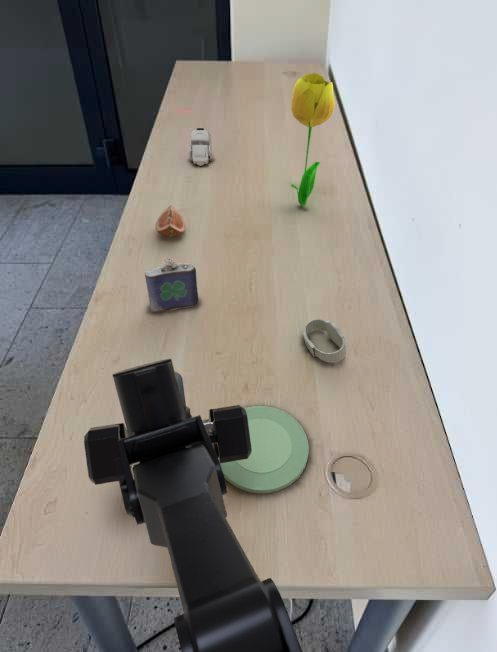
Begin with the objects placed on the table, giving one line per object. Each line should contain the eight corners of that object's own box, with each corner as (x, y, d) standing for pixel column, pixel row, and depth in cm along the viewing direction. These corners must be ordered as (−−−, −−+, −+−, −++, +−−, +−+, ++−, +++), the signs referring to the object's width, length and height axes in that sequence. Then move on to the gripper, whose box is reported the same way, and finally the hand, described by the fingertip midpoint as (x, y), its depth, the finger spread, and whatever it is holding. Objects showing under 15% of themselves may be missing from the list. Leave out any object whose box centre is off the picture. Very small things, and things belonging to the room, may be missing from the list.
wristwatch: (352, 359, 84) (357, 339, 81) (322, 371, 82) (325, 352, 79) (322, 326, 90) (326, 306, 86) (293, 337, 88) (296, 317, 84)
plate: (309, 497, 66) (310, 493, 66) (207, 490, 67) (207, 486, 66) (307, 412, 76) (307, 408, 75) (218, 406, 77) (218, 402, 76)
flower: (292, 219, 116) (304, 86, 95) (279, 202, 121) (288, 72, 100) (325, 212, 118) (343, 81, 97) (311, 196, 123) (325, 68, 102)
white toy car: (211, 168, 137) (211, 132, 136) (210, 162, 130) (210, 124, 130) (190, 168, 137) (190, 132, 136) (188, 162, 130) (188, 124, 130)
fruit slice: (185, 244, 108) (183, 224, 104) (155, 245, 108) (152, 225, 104) (186, 223, 114) (184, 204, 110) (157, 224, 113) (154, 205, 110)
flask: (151, 314, 92) (143, 269, 84) (149, 304, 94) (142, 259, 86) (199, 306, 93) (196, 261, 86) (196, 296, 95) (193, 252, 88)
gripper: (248, 369, 51) (231, 360, 66) (64, 395, 48) (91, 379, 64) (261, 473, 51) (241, 440, 67) (79, 506, 48) (102, 463, 64)
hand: (170, 429), depth 65 cm, fingers open, 9 cm apart
